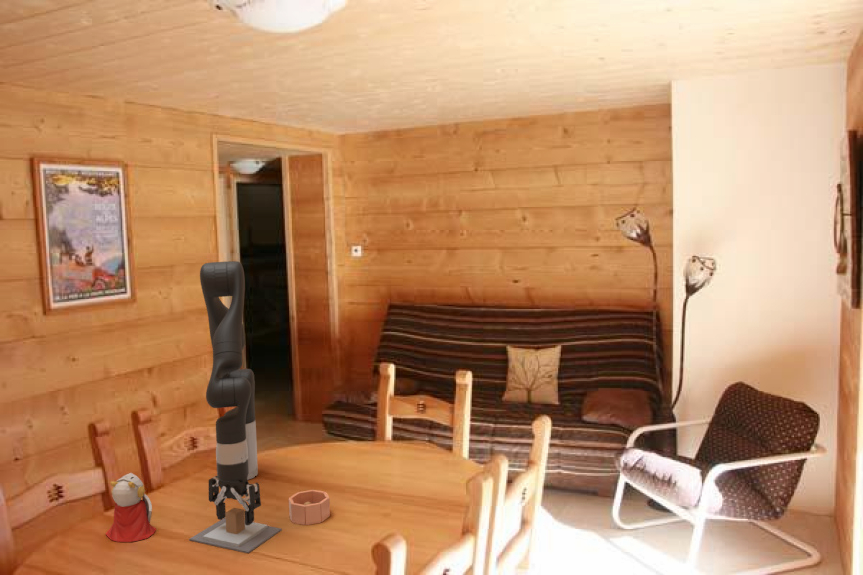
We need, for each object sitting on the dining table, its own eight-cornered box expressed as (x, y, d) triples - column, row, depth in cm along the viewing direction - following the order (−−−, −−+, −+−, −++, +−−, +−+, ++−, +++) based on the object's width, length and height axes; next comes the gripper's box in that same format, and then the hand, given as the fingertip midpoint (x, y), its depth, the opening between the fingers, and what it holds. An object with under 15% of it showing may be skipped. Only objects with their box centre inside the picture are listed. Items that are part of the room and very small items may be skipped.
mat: (189, 540, 166) (189, 538, 166) (225, 518, 178) (225, 517, 178) (248, 553, 159) (248, 551, 159) (281, 530, 171) (281, 528, 171)
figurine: (169, 526, 174) (166, 470, 173) (134, 546, 164) (130, 486, 162) (132, 518, 179) (129, 463, 178) (95, 537, 169) (91, 479, 168)
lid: (202, 539, 166) (201, 516, 165) (233, 521, 176) (232, 499, 175) (238, 547, 161) (237, 523, 160) (267, 528, 171) (266, 505, 170)
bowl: (282, 520, 176) (281, 502, 175) (304, 505, 185) (303, 488, 185) (315, 527, 172) (314, 508, 171) (336, 511, 181) (335, 493, 181)
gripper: (198, 459, 166) (202, 523, 167) (245, 466, 160) (248, 532, 162) (219, 449, 173) (223, 511, 174) (265, 456, 167) (268, 519, 169)
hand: (235, 521), depth 168 cm, fingers open, 8 cm apart
